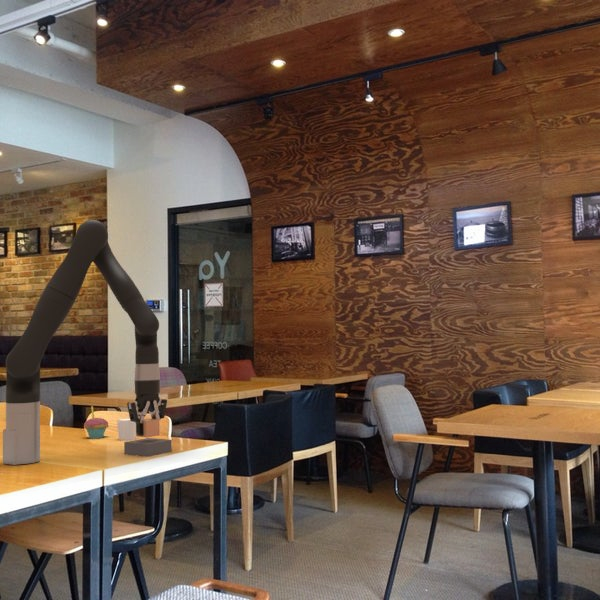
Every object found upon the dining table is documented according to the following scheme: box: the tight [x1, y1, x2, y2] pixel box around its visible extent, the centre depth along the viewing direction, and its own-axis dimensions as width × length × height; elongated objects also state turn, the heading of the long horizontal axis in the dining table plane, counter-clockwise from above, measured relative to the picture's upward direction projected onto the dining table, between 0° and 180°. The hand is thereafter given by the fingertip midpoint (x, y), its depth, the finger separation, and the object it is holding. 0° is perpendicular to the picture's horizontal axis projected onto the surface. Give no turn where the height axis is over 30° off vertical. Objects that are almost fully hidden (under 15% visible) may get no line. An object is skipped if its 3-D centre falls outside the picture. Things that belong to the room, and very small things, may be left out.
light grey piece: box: [116, 417, 137, 441], centre depth 243 cm, size 7×7×7 cm
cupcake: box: [83, 404, 109, 440], centre depth 249 cm, size 9×8×12 cm
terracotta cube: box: [136, 417, 160, 438], centre depth 211 cm, size 5×5×5 cm
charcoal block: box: [123, 437, 173, 458], centre depth 211 cm, size 10×10×4 cm
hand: (147, 434), depth 211 cm, fingers closed on terracotta cube, 5 cm apart
